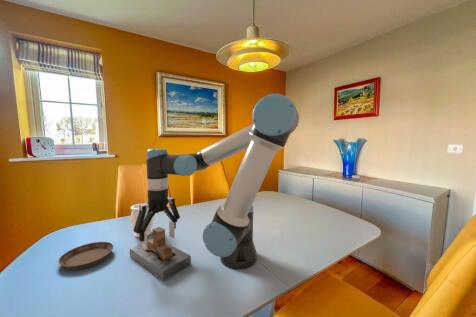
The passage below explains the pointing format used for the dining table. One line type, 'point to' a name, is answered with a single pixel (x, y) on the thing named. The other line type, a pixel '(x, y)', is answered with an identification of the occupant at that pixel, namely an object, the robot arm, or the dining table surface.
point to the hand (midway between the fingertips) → (159, 242)
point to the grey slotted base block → (158, 267)
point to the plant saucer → (85, 255)
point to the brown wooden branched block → (159, 244)
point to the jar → (135, 214)
